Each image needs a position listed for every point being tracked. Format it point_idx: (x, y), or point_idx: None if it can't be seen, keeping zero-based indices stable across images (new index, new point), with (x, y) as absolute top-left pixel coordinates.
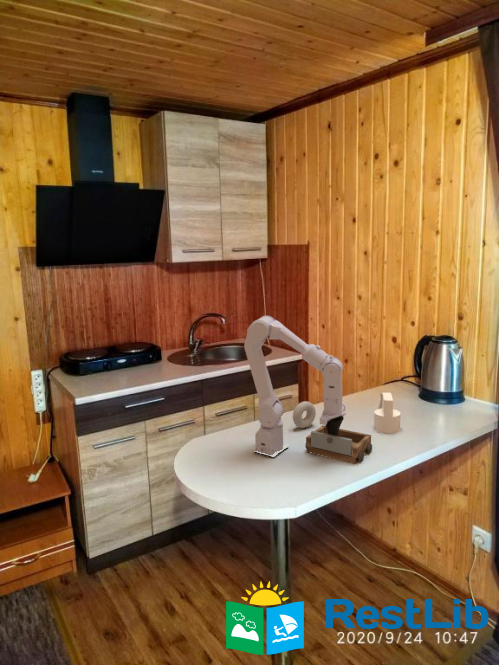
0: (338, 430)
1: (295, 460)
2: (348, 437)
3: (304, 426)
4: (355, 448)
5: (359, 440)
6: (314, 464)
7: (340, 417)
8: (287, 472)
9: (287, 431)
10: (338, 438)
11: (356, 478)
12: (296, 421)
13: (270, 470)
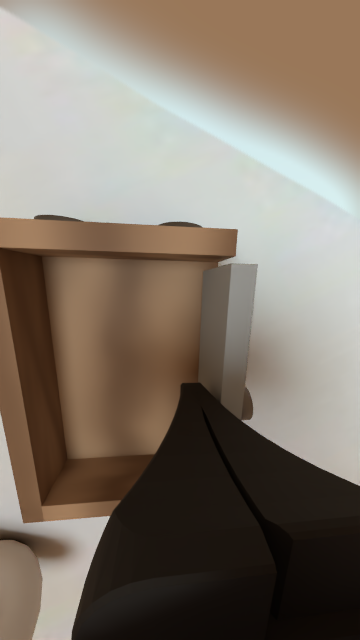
0: (186, 412)
1: (271, 438)
2: (42, 358)
3: (20, 551)
4: (236, 236)
5: (36, 294)
6: (274, 378)
7: (192, 624)
8: (352, 417)
9: (82, 560)
10: (245, 362)
11: (321, 203)
12: (37, 609)
13: (354, 458)
